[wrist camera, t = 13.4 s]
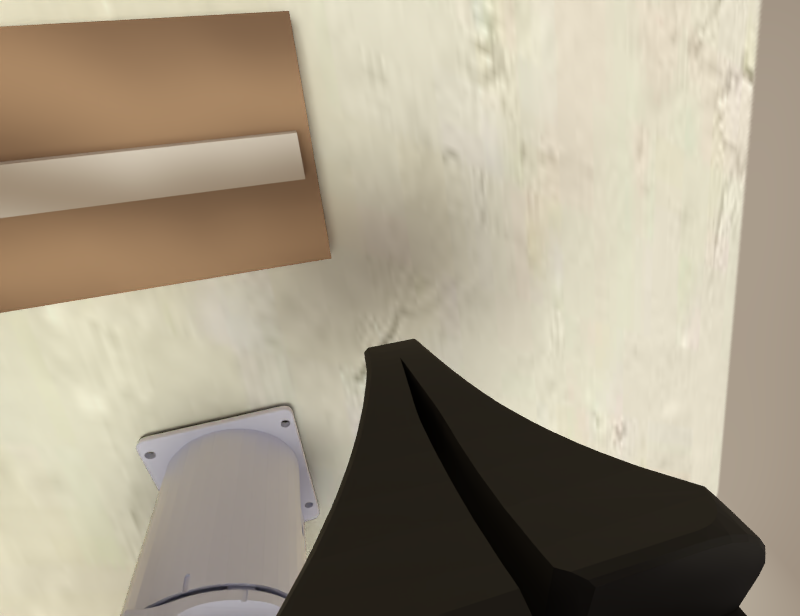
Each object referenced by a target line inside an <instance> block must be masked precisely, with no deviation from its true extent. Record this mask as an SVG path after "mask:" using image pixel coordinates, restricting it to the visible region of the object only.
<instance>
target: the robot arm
mask: <svg viewBox="0 0 800 616" xmlns="http://www.w3.org/2000/svg"><path fill="white" fill-rule="evenodd" d="M364 354H365V361H366V368H367V378H366V389H365V397H364V404H363V409H362V414H361V418H360V423H359V428H358V432H357V436H356V440H355V443H354V447H353V450H352V453H351V457H350V460H349V463H348V466H347V469H346V472H345V474H344V477H343V480H342V482H341V485H340V488H339V490H338V493H337V496H336V498H335V500H334V503H333V505H332V508H331V510H330V512H329V514H328V516H327V519H326V521H325V523H324V525H323V527H322V529H321V531H320V534H319V536H318V538H317V540H316V542H315V544H314V546H313V549H312V551H311V553H310V555H309V556H308V558H307V560H306V545H305V524H304V522H305V521H309V520H313V519H315V518H317V517H318V516H319V506H318V502H317V499H316V495H315V491H314V488H313V484H312V480H311V477H310V473H309V469H308V466H307V462H306V458H305V455H304V451H303V447H302V444H301V440H300V436H299V433H298V429H297V425H296V421H295V418H294V414H293V411H292V409H291V408H290V407H288V406H280V407H275V408H271V409H266V410H262V411H257V412H253V413H249V414H244V415H240V416H235V417H231V418H226V419H222V420H217V421H213V422H209V423H204V424H200V425H195V426H191V427H186V428H182V429H177V430H173V431H169V432H164V433H160V434H155V435H151V436H146V437H143V438H141V439H140V440H139V441H138V443H137V446H136V450H137V452H138V454H139V456H140V458H141V459H142V461H143V463H144V465H145V467H146V469H147V470H148V472H149V474H150V476H151V478H152V480H153V481H154V483H155V485H156V487H157V489H158V491H159V494H158V497H157V500H156V504H155V507H154V510H153V513H152V516H151V520H150V523H149V526H148V529H147V532H146V535H145V539H144V542H143V545H142V548H141V551H140V555H139V558H138V561H137V564H136V567H135V570H134V574H133V577H132V580H131V583H130V586H129V590H128V593H127V596H126V599H125V602H124V605H123V609H122V612H121V615H120V616H747V615H746V614H745V613H744V612H743V611H742V610H741V608H739V605H740V604H741V602H742V601H743V599H744V598H745V596H746V595H747V593H748V591H749V590H750V588H751V587H752V585H753V584H754V582H755V581H756V579H757V577H758V576H759V574H760V572H761V570H762V568H763V566H764V564H765V545H764V544H763V542H762V541H761V539H760V538H759V537H758V536H757V535H756V534H755V533H754V532H753V531H752V530H750V528H748V527H747V526H746V525H745V524H744V523H743V522H742V521H741V520H740V519H739V518H738V517H737V516H736V515H735V514H734V513H733V512H732V511H731V510H730V509H729V508H727V506H725V505H724V504H723V503H722V502H721V501H720V500H719V499H718V498H717V497H716V496H715V495H714V494H712V493H711V492H710V491H709V490H708V489H707V488H706V487H704V486H701V485H697V484H694V483H691V482H688V481H684V480H681V479H678V478H675V477H671V476H668V475H665V474H662V473H658V472H655V471H652V470H649V469H645V468H642V467H639V466H636V465H633V464H630V463H628V462H625V461H622V460H620V459H617V458H614V457H612V456H609V455H606V454H603V453H601V452H598V451H596V450H593V449H591V448H588V447H586V446H583V445H581V444H579V443H576V442H574V441H572V440H570V439H567V438H565V437H563V436H561V435H559V434H556V433H554V432H552V431H550V430H548V429H546V428H544V427H542V426H540V425H538V424H536V423H534V422H532V421H530V420H528V419H526V418H525V417H523V416H521V415H519V414H517V413H515V412H514V411H512V410H510V409H508V408H506V407H505V406H503V405H501V404H500V403H498V402H497V401H495V400H494V399H492V398H490V397H489V396H487V395H486V394H484V393H483V392H481V391H480V390H479V389H477V388H476V387H474V386H473V385H472V384H470V383H469V382H467V381H466V380H465V379H463V378H462V377H461V376H459V375H458V374H457V373H455V372H454V371H453V370H452V369H450V368H449V367H448V366H447V365H445V364H444V363H443V362H442V361H440V360H439V359H438V358H437V357H436V356H434V355H433V354H432V353H431V352H430V351H429V350H427V349H426V348H425V347H424V346H423V345H422V344H421V343H419V342H418V341H417V340H415V339H410V340H405V341H400V342H395V343H390V344H385V345H380V346H375V347H370V348H368V349H367V350H366V351H365V352H364ZM284 420H288V421H289V422H286V423H284V422H282V421H284ZM148 452H154V453H148ZM308 502H309V503H308Z"/></svg>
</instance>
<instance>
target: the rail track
mask: <svg viewBox="0 0 800 616" xmlns="http://www.w3.org/2000/svg"><path fill="white" fill-rule="evenodd" d="M330 258H331V253H330V248H329V242H328V236H327V230H326V224H325V218H324V213H323V207H322V201H321V195H320V189H319V183H318V178H317V172H316V166H315V160H314V154H313V148H312V143H311V137H310V131H309V125H308V119H307V113H306V108H305V102H304V96H303V90H302V84H301V79H300V73H299V67H298V61H297V55H296V49H295V44H294V38H293V32H292V26H291V20H290V14H289V11H280V12H262V13H243V14H225V15H207V16H189V17H170V18H152V19H134V20H115V21H97V22H79V23H61V24H42V25H24V26H6V27H0V313H2V312H8V311H14V310H20V309H26V308H32V307H39V306H45V305H51V304H57V303H63V302H69V301H75V300H81V299H87V298H93V297H99V296H105V295H111V294H117V293H123V292H129V291H136V290H142V289H148V288H154V287H160V286H166V285H172V284H178V283H184V282H190V281H196V280H202V279H208V278H214V277H220V276H227V275H233V274H239V273H245V272H251V271H257V270H263V269H269V268H275V267H281V266H287V265H293V264H299V263H305V262H311V261H318V260H324V259H330Z"/></svg>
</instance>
